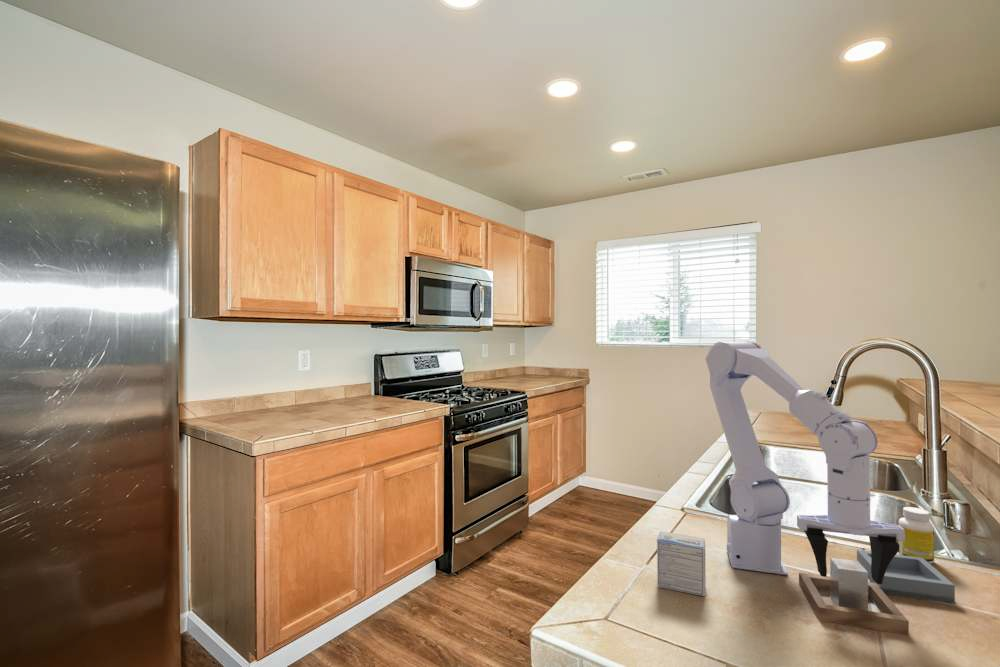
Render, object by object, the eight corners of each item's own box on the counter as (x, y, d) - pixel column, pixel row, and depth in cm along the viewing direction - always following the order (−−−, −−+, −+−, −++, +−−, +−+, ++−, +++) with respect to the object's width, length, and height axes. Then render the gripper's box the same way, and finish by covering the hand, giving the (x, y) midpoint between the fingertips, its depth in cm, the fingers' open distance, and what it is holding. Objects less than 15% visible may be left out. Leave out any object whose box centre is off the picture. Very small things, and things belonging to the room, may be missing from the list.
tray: (880, 592, 83) (880, 575, 83) (857, 565, 93) (856, 549, 93) (954, 603, 80) (954, 585, 80) (922, 573, 90) (922, 557, 90)
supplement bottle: (941, 566, 92) (941, 516, 92) (909, 564, 94) (908, 514, 94) (922, 554, 98) (922, 506, 98) (892, 551, 99) (892, 504, 99)
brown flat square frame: (819, 619, 75) (818, 607, 75) (798, 583, 86) (798, 572, 86) (908, 634, 72) (908, 621, 72) (875, 594, 83) (875, 583, 83)
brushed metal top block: (838, 611, 78) (838, 568, 78) (830, 598, 82) (830, 557, 82) (868, 616, 76) (867, 572, 76) (858, 602, 80) (858, 561, 80)
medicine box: (705, 585, 86) (705, 537, 86) (705, 598, 82) (704, 547, 82) (659, 576, 89) (659, 530, 89) (656, 587, 85) (656, 539, 85)
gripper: (804, 498, 78) (805, 582, 77) (914, 508, 73) (914, 597, 73) (793, 485, 84) (794, 562, 84) (892, 493, 80) (893, 575, 79)
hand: (849, 577), depth 79 cm, fingers open, 7 cm apart
